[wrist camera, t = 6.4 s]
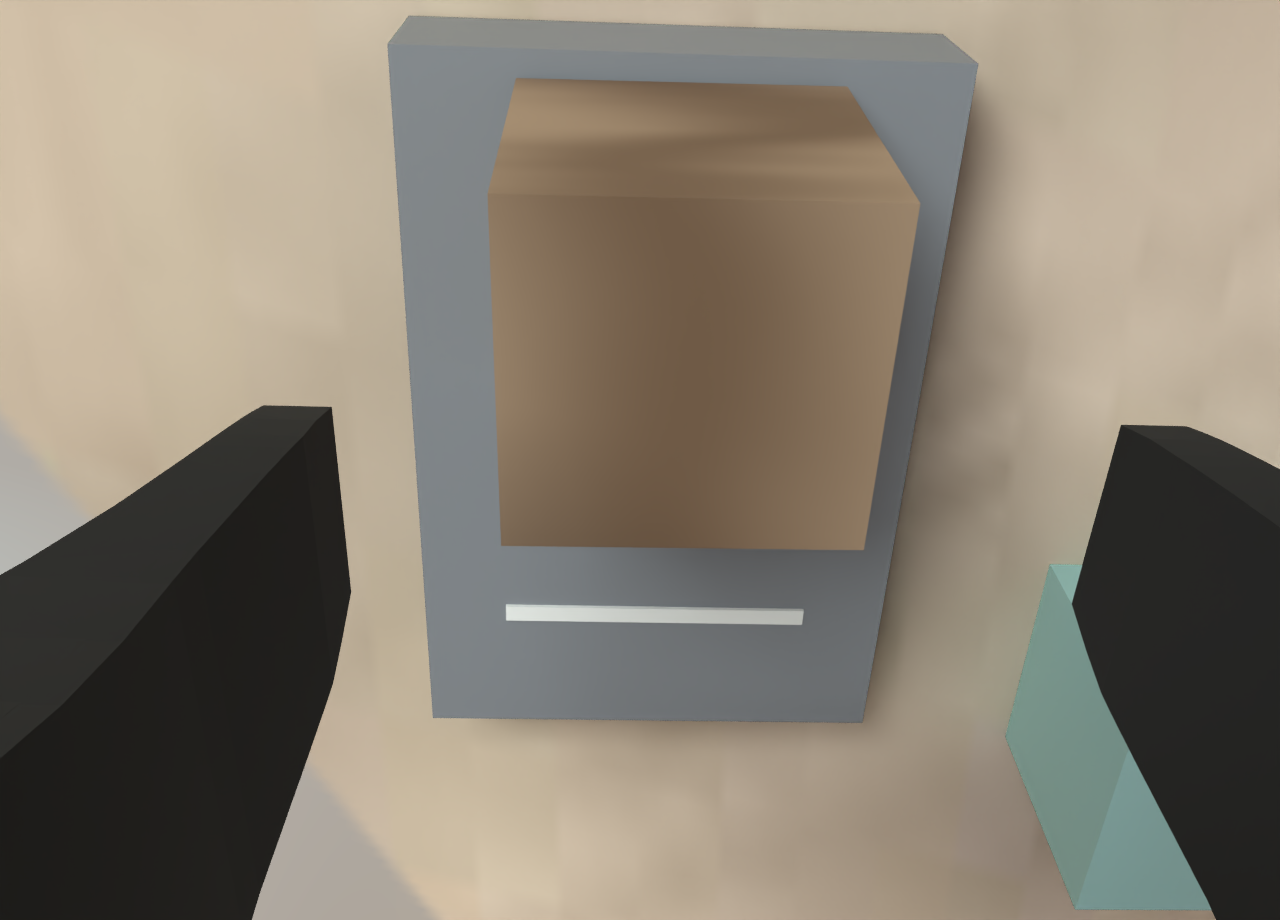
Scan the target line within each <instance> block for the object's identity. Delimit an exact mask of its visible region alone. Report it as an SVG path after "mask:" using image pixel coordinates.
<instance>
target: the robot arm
mask: <svg viewBox="0 0 1280 920" xmlns="http://www.w3.org/2000/svg"><path fill="white" fill-rule="evenodd" d="M350 595H351V587H350V577H349V568H348V558H347V549H346V539H345V530H344V520H343V511H342V501H341V492H340V482H339V473H338V463H337V454H336V444H335V435H334V425H333V416H332V407H308V406H264V405H263V406H262V407H260V408H258V409H256V410H254V411H253V412H251V413H249V414H248V415H246V416H244V417H243V418H241V419H240V420H238V421H237V422H235V423H234V424H232V425H231V426H229V427H228V428H226V429H225V430H223V431H222V432H221V433H219V434H218V435H216V436H215V437H213V438H212V439H211V440H209V441H208V442H206V443H205V444H203V445H202V446H201V447H199V448H198V449H196V450H195V451H193V452H192V453H191V454H189V455H188V456H186V457H185V458H184V459H182V460H181V461H179V462H178V463H176V464H175V465H173V466H172V467H170V468H169V469H168V470H166V471H165V472H163V473H162V474H160V475H159V476H157V477H156V478H154V479H153V480H152V481H150V482H149V483H147V484H146V485H144V486H143V487H141V488H140V489H138V490H137V491H136V492H134V493H133V494H131V495H130V496H128V497H127V498H125V499H124V500H122V501H121V502H119V503H118V504H116V505H115V506H113V507H112V508H110V509H108V510H107V511H105V512H104V513H102V514H100V515H99V516H97V517H95V518H94V519H92V520H91V521H89V522H87V523H86V524H84V525H83V526H81V527H79V528H78V529H76V530H74V531H73V532H71V533H70V534H68V535H66V536H65V537H63V538H61V539H60V540H58V541H57V542H55V543H53V544H52V545H51V546H49V547H47V548H45V549H44V550H42V551H40V552H39V553H37V554H36V555H34V556H32V557H31V558H29V559H28V560H26V561H24V562H23V563H21V564H19V565H17V566H15V567H14V568H12V569H10V570H8V571H7V572H5V573H3V574H1V575H0V920H252V917H253V914H254V910H255V907H256V904H257V900H258V897H259V894H260V891H261V888H262V885H263V882H264V879H265V877H266V874H267V871H268V868H269V865H270V863H271V859H272V857H273V854H274V851H275V848H276V845H277V842H278V840H279V837H280V834H281V831H282V829H283V826H284V823H285V820H286V817H287V814H288V812H289V809H290V806H291V803H292V800H293V797H294V795H295V791H296V789H297V786H298V783H299V780H300V778H301V775H302V772H303V769H304V766H305V763H306V761H307V758H308V755H309V752H310V749H311V746H312V743H313V740H314V738H315V735H316V732H317V729H318V726H319V723H320V720H321V717H322V714H323V711H324V709H325V706H326V703H327V700H328V697H329V694H330V691H331V688H332V685H333V680H334V676H335V671H336V666H337V662H338V657H339V652H340V647H341V643H342V637H343V632H344V627H345V621H346V616H347V611H348V605H349V600H350ZM1072 607H1073V610H1074V613H1075V616H1076V619H1077V623H1078V626H1079V629H1080V632H1081V636H1082V639H1083V642H1084V645H1085V648H1086V652H1087V655H1088V657H1089V660H1090V663H1091V666H1092V669H1093V672H1094V674H1095V677H1096V680H1097V683H1098V686H1099V688H1100V691H1101V694H1102V696H1103V698H1104V700H1105V702H1106V704H1107V706H1108V708H1109V711H1110V713H1111V715H1112V717H1113V719H1114V721H1115V723H1116V725H1117V727H1118V729H1119V731H1120V733H1121V735H1122V737H1123V739H1124V740H1125V742H1126V744H1127V746H1128V748H1129V750H1130V752H1131V754H1132V756H1133V758H1134V760H1135V762H1136V764H1137V766H1138V768H1139V770H1140V772H1141V774H1142V776H1143V778H1144V780H1145V782H1146V783H1147V785H1148V787H1149V789H1150V791H1151V793H1152V795H1153V797H1154V799H1155V801H1156V803H1157V805H1158V807H1159V808H1160V810H1161V812H1162V814H1163V816H1164V818H1165V820H1166V822H1167V824H1168V826H1169V828H1170V830H1171V832H1172V833H1173V835H1174V837H1175V839H1176V841H1177V843H1178V845H1179V847H1180V849H1181V851H1182V853H1183V855H1184V857H1185V859H1186V860H1187V862H1188V864H1189V866H1190V868H1191V870H1192V872H1193V874H1194V876H1195V878H1196V880H1197V882H1198V884H1199V885H1200V887H1201V889H1202V891H1203V893H1204V895H1205V897H1206V899H1207V901H1208V903H1209V905H1210V907H1211V910H1212V912H1213V914H1214V916H1215V918H1216V920H1280V469H1278V468H1276V467H1274V466H1272V465H1270V464H1268V463H1266V462H1265V461H1263V460H1261V459H1259V458H1257V457H1255V456H1253V455H1251V454H1249V453H1247V452H1245V451H1243V450H1241V449H1239V448H1237V447H1235V446H1232V445H1230V444H1228V443H1226V442H1224V441H1222V440H1220V439H1217V438H1215V437H1213V436H1210V435H1208V434H1205V433H1203V432H1200V431H1198V430H1195V429H1192V428H1190V427H1187V426H1146V425H1121V427H1120V431H1119V435H1118V438H1117V442H1116V445H1115V449H1114V453H1113V456H1112V460H1111V463H1110V467H1109V471H1108V474H1107V478H1106V481H1105V485H1104V489H1103V492H1102V496H1101V500H1100V503H1099V507H1098V510H1097V514H1096V518H1095V521H1094V525H1093V528H1092V532H1091V536H1090V539H1089V543H1088V546H1087V550H1086V554H1085V557H1084V561H1083V564H1082V568H1081V572H1080V575H1079V579H1078V583H1077V586H1076V590H1075V593H1074V597H1073V601H1072Z"/></svg>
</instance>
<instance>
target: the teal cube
mask: <svg viewBox="0 0 1280 920" xmlns="http://www.w3.org/2000/svg"><path fill="white" fill-rule="evenodd" d="M1081 568H1082V565H1061V564H1050V566H1049V570H1048V574H1047V577H1046V581H1045V585H1044V589H1043V593H1042V597H1041V601H1040V605H1039V608H1038V612H1037V616H1036V620H1035V624H1034V628H1033V632H1032V635H1031V639H1030V643H1029V647H1028V651H1027V655H1026V659H1025V662H1024V666H1023V670H1022V674H1021V678H1020V682H1019V686H1018V690H1017V693H1016V697H1015V701H1014V705H1013V709H1012V713H1011V717H1010V720H1009V724H1008V728H1007V732H1006V736H1005V737H1006V740H1007V742H1008V745H1009V747H1010V750H1011V752H1012V755H1013V757H1014V760H1015V762H1016V765H1017V767H1018V770H1019V772H1020V774H1021V777H1022V779H1023V782H1024V784H1025V787H1026V789H1027V792H1028V794H1029V797H1030V799H1031V802H1032V804H1033V807H1034V809H1035V812H1036V814H1037V817H1038V819H1039V821H1040V824H1041V826H1042V829H1043V831H1044V834H1045V836H1046V839H1047V841H1048V844H1049V846H1050V849H1051V851H1052V854H1053V856H1054V859H1055V861H1056V864H1057V866H1058V868H1059V871H1060V873H1061V876H1062V878H1063V881H1064V883H1065V886H1066V888H1067V891H1068V893H1069V896H1070V898H1071V901H1072V903H1073V906H1074V908H1075V910H1211V907H1210V905H1209V903H1208V901H1207V899H1206V897H1205V895H1204V893H1203V891H1202V889H1201V887H1200V885H1199V884H1198V882H1197V880H1196V878H1195V876H1194V874H1193V872H1192V870H1191V868H1190V866H1189V864H1188V862H1187V860H1186V859H1185V857H1184V855H1183V853H1182V851H1181V849H1180V847H1179V845H1178V843H1177V841H1176V839H1175V837H1174V835H1173V833H1172V832H1171V830H1170V828H1169V826H1168V824H1167V822H1166V820H1165V818H1164V816H1163V814H1162V812H1161V810H1160V808H1159V807H1158V805H1157V803H1156V801H1155V799H1154V797H1153V795H1152V793H1151V791H1150V789H1149V787H1148V785H1147V783H1146V782H1145V780H1144V778H1143V776H1142V774H1141V772H1140V770H1139V768H1138V766H1137V764H1136V762H1135V760H1134V758H1133V756H1132V754H1131V752H1130V750H1129V748H1128V746H1127V744H1126V742H1125V740H1124V739H1123V737H1122V735H1121V733H1120V731H1119V729H1118V727H1117V725H1116V723H1115V721H1114V719H1113V717H1112V715H1111V713H1110V711H1109V708H1108V706H1107V704H1106V702H1105V700H1104V698H1103V696H1102V694H1101V691H1100V688H1099V686H1098V683H1097V680H1096V677H1095V674H1094V672H1093V669H1092V666H1091V663H1090V660H1089V657H1088V655H1087V652H1086V648H1085V645H1084V642H1083V639H1082V636H1081V632H1080V629H1079V626H1078V623H1077V619H1076V616H1075V613H1074V610H1073V607H1072V601H1073V597H1074V593H1075V590H1076V586H1077V583H1078V579H1079V575H1080V572H1081Z"/></svg>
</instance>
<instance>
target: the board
mask: <svg viewBox="0 0 1280 920" xmlns="http://www.w3.org/2000/svg"><path fill="white" fill-rule="evenodd" d="M388 58H389V73H390V88H391V103H392V118H393V132H394V147H395V162H396V177H397V192H398V206H399V221H400V236H401V251H402V266H403V281H404V295H405V310H406V325H407V340H408V355H409V370H410V384H411V399H412V414H413V429H414V444H415V458H416V473H417V488H418V503H419V518H420V533H421V547H422V562H423V577H424V592H425V607H426V621H427V636H428V651H429V666H430V681H431V696H432V710H433V718H489V719H576V720H662V721H749V722H836V723H862V722H863V716H864V710H865V705H866V699H867V693H868V688H869V682H870V676H871V671H872V665H873V659H874V654H875V648H876V642H877V637H878V631H879V625H880V620H881V614H882V608H883V602H884V597H885V591H886V585H887V580H888V574H889V568H890V563H891V557H892V551H893V546H894V540H895V534H896V529H897V523H898V517H899V512H900V506H901V500H902V495H903V489H904V483H905V477H906V472H907V466H908V460H909V455H910V449H911V443H912V438H913V432H914V426H915V421H916V415H917V409H918V404H919V398H920V392H921V387H922V381H923V375H924V370H925V364H926V358H927V352H928V347H929V341H930V335H931V330H932V324H933V318H934V313H935V307H936V301H937V296H938V290H939V284H940V279H941V273H942V267H943V262H944V256H945V250H946V245H947V239H948V233H949V228H950V222H951V216H952V210H953V205H954V199H955V193H956V188H957V182H958V176H959V171H960V165H961V159H962V154H963V148H964V142H965V137H966V131H967V125H968V120H969V114H970V108H971V103H972V97H973V91H974V85H975V80H976V74H977V68H978V63H977V62H976V61H974V60H973V59H972V58H971V57H970V56H968V55H967V54H966V53H965V52H964V51H962V50H961V49H960V48H959V47H958V46H956V45H955V44H954V43H953V42H952V41H950V40H949V39H948V38H947V37H946V36H944V35H943V34H921V33H892V32H863V31H835V30H806V29H777V28H748V27H719V26H690V25H661V24H632V23H603V22H574V21H545V20H516V19H487V18H458V17H429V16H408V18H407V19H406V20H405V22H404V23H403V24H402V26H401V27H400V28H399V29H398V31H397V32H396V33H395V35H394V36H393V37H392V39H391V40H390V41H389V43H388ZM516 78H534V79H574V80H613V81H652V82H692V83H731V84H770V85H809V86H847V87H848V88H849V90H850V91H851V93H852V95H853V96H854V98H855V99H856V101H857V103H858V104H859V106H860V107H861V109H862V111H863V112H864V114H865V115H866V117H867V119H868V120H869V122H870V123H871V125H872V127H873V128H874V130H875V131H876V133H877V135H878V136H879V138H880V139H881V141H882V143H883V144H884V146H885V147H886V149H887V151H888V152H889V154H890V155H891V157H892V159H893V160H894V162H895V163H896V165H897V167H898V168H899V170H900V171H901V173H902V175H903V176H904V178H905V179H906V181H907V183H908V184H909V186H910V187H911V189H912V191H913V192H914V194H915V195H916V197H917V199H918V200H919V202H920V209H919V215H918V221H917V227H916V234H915V240H914V246H913V252H912V258H911V264H910V270H909V276H908V283H907V289H906V295H905V301H904V307H903V313H902V319H901V325H900V332H899V338H898V344H897V350H896V356H895V362H894V368H893V374H892V381H891V387H890V393H889V399H888V405H887V411H886V417H885V423H884V430H883V436H882V442H881V448H880V454H879V460H878V466H877V472H876V479H875V485H874V491H873V497H872V503H871V509H870V515H869V521H868V528H867V534H866V540H865V546H864V550H806V549H720V548H633V547H546V546H501V530H500V504H499V479H498V453H497V427H496V401H495V375H494V350H493V324H492V298H491V272H490V246H489V221H488V195H487V194H488V190H489V185H490V181H491V177H492V173H493V169H494V165H495V161H496V157H497V153H498V149H499V145H500V141H501V137H502V133H503V129H504V125H505V121H506V116H507V112H508V108H509V104H510V100H511V96H512V92H513V88H514V84H515V80H516Z"/></svg>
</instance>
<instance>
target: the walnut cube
mask: <svg viewBox="0 0 1280 920" xmlns="http://www.w3.org/2000/svg"><path fill="white" fill-rule="evenodd" d="M487 195H488V221H489V246H490V272H491V298H492V324H493V350H494V375H495V401H496V427H497V453H498V479H499V504H500V530H501V546H546V547H633V548H720V549H806V550H864V546H865V540H866V534H867V528H868V521H869V515H870V509H871V503H872V497H873V491H874V485H875V479H876V472H877V466H878V460H879V454H880V448H881V442H882V436H883V430H884V423H885V417H886V411H887V405H888V399H889V393H890V387H891V381H892V374H893V368H894V362H895V356H896V350H897V344H898V338H899V332H900V325H901V319H902V313H903V307H904V301H905V295H906V289H907V283H908V276H909V270H910V264H911V258H912V252H913V246H914V240H915V234H916V227H917V221H918V215H919V209H920V202H919V200H918V199H917V197H916V195H915V194H914V192H913V191H912V189H911V187H910V186H909V184H908V183H907V181H906V179H905V178H904V176H903V175H902V173H901V171H900V170H899V168H898V167H897V165H896V163H895V162H894V160H893V159H892V157H891V155H890V154H889V152H888V151H887V149H886V147H885V146H884V144H883V143H882V141H881V139H880V138H879V136H878V135H877V133H876V131H875V130H874V128H873V127H872V125H871V123H870V122H869V120H868V119H867V117H866V115H865V114H864V112H863V111H862V109H861V107H860V106H859V104H858V103H857V101H856V99H855V98H854V96H853V95H852V93H851V91H850V90H849V88H848V87H847V86H809V85H770V84H731V83H692V82H652V81H613V80H574V79H534V78H516V80H515V84H514V88H513V92H512V96H511V100H510V104H509V108H508V112H507V116H506V121H505V125H504V129H503V133H502V137H501V141H500V145H499V149H498V153H497V157H496V161H495V165H494V169H493V173H492V177H491V181H490V185H489V190H488V194H487Z"/></svg>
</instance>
